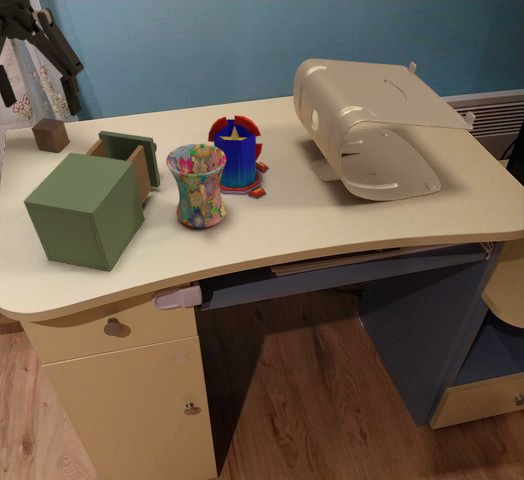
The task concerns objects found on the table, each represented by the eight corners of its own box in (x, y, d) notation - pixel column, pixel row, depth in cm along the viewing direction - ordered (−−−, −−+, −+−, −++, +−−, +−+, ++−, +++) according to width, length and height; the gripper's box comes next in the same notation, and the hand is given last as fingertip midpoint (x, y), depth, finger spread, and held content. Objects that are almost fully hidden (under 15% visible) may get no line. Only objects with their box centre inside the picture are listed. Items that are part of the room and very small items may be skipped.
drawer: (122, 164, 93) (112, 118, 87) (169, 171, 92) (162, 125, 85) (80, 216, 83) (65, 169, 76) (132, 225, 82) (121, 178, 75)
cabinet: (87, 209, 86) (70, 152, 78) (144, 219, 84) (132, 161, 76) (47, 259, 78) (23, 201, 69) (110, 271, 76) (92, 213, 68)
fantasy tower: (200, 196, 89) (194, 131, 79) (208, 161, 96) (203, 98, 87) (266, 199, 88) (267, 134, 79) (269, 163, 96) (271, 100, 86)
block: (38, 150, 98) (31, 128, 95) (50, 139, 101) (43, 117, 97) (59, 153, 98) (52, 131, 94) (69, 142, 100) (63, 120, 97)
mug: (172, 203, 87) (163, 146, 79) (224, 197, 89) (220, 140, 80) (179, 246, 80) (171, 188, 72) (236, 239, 81) (234, 181, 73)
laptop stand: (288, 140, 101) (293, 58, 89) (393, 125, 106) (411, 45, 94) (334, 212, 86) (346, 125, 74) (454, 192, 90) (485, 106, 78)
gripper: (80, -31, 77) (112, 106, 94) (-58, -42, 81) (-4, 92, 98) (56, -16, 73) (95, 125, 89) (-89, -28, 77) (-27, 109, 93)
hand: (43, 108), depth 93 cm, fingers open, 13 cm apart
